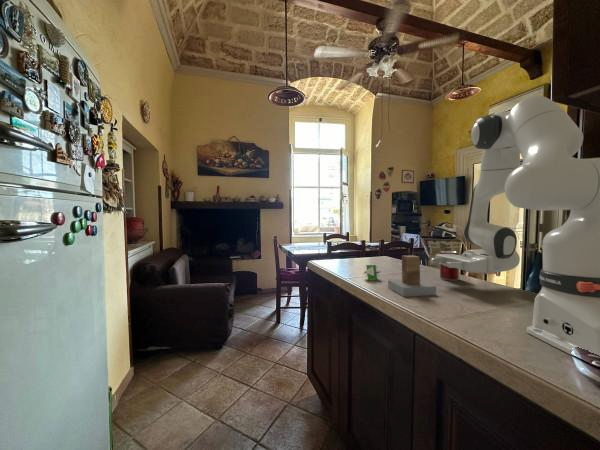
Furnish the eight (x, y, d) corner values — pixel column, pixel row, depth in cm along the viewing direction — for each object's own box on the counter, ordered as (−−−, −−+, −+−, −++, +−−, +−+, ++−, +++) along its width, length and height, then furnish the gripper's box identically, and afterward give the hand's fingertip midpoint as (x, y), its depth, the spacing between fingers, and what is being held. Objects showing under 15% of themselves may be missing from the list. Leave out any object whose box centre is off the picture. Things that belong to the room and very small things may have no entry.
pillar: (420, 284, 92) (419, 256, 92) (408, 284, 92) (407, 257, 92) (413, 281, 97) (413, 255, 97) (402, 281, 96) (401, 255, 96)
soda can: (462, 280, 108) (462, 252, 108) (445, 281, 108) (445, 253, 108) (452, 277, 115) (452, 250, 115) (436, 277, 115) (436, 251, 115)
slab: (436, 294, 89) (436, 286, 89) (403, 296, 88) (403, 287, 88) (417, 286, 101) (417, 278, 101) (388, 287, 100) (388, 280, 100)
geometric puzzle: (361, 272, 119) (363, 260, 114) (376, 272, 119) (379, 260, 114) (364, 284, 114) (366, 272, 109) (380, 284, 113) (382, 272, 108)
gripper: (454, 249, 107) (423, 251, 106) (496, 256, 87) (458, 258, 85) (454, 264, 107) (423, 266, 106) (496, 275, 87) (458, 277, 85)
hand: (439, 262), depth 95 cm, fingers open, 8 cm apart
